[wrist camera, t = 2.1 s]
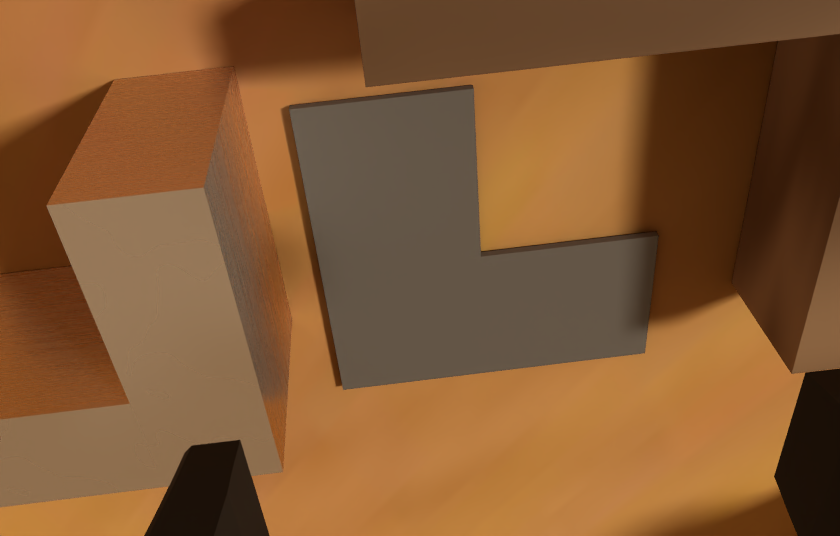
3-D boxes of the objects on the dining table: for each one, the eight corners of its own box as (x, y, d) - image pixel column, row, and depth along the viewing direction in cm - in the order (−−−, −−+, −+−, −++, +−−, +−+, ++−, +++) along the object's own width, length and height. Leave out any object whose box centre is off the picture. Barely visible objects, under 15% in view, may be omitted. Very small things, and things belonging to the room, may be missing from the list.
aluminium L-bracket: (291, 320, 21) (283, 471, 17) (23, 352, 21) (-51, 513, 17) (233, 66, 17) (203, 187, 13) (-103, 104, 17) (-241, 238, 13)
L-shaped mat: (642, 348, 23) (644, 353, 23) (343, 384, 22) (343, 389, 22) (675, 61, 18) (678, 65, 17) (289, 105, 17) (289, 109, 17)
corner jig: (786, 276, 22) (854, 365, 19) (398, 322, 21) (408, 421, 19) (881, -117, 16) (1000, -73, 13) (349, -59, 16) (354, -2, 13)
